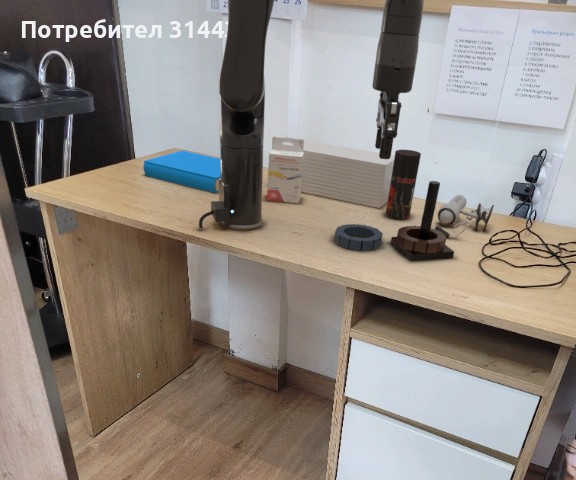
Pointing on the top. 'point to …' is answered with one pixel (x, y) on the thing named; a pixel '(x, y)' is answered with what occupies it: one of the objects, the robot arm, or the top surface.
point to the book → (186, 170)
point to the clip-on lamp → (453, 209)
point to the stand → (426, 229)
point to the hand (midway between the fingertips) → (382, 153)
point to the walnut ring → (409, 241)
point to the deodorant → (402, 184)
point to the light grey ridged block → (346, 173)
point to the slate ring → (364, 244)
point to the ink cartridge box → (285, 170)
